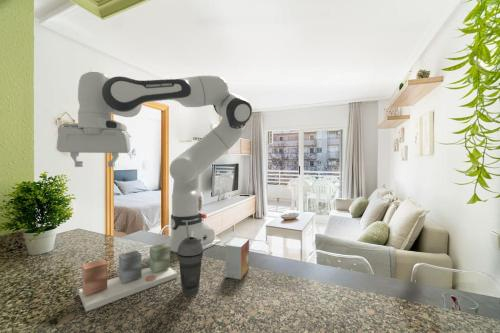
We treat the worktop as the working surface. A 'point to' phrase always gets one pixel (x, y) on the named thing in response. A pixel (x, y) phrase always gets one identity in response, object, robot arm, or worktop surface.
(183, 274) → the beverage cup
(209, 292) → the worktop surface
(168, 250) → the sage green block
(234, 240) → the small box
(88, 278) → the pink tall block
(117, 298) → the base
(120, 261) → the grey tall block
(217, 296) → the worktop surface
